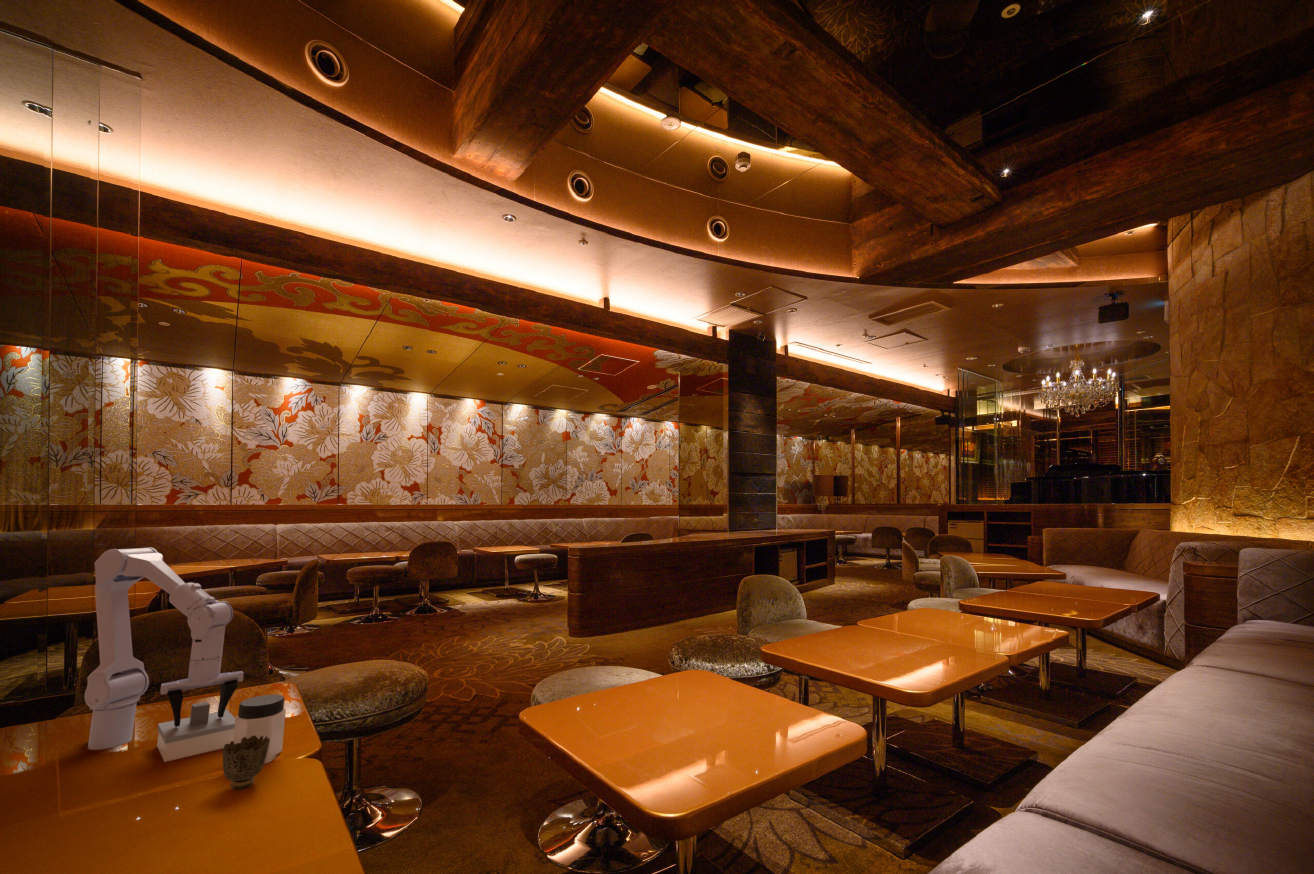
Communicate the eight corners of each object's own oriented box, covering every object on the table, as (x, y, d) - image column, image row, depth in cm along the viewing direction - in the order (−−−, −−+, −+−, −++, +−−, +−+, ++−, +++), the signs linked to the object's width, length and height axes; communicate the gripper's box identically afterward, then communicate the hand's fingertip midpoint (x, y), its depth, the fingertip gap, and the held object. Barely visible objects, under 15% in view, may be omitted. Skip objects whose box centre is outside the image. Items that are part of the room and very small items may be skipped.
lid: (157, 728, 125) (160, 704, 126) (226, 714, 134) (229, 692, 135) (165, 743, 117) (168, 718, 117) (238, 727, 126) (241, 703, 127)
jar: (228, 771, 114) (235, 709, 116) (231, 757, 121) (238, 698, 123) (281, 761, 119) (287, 701, 121) (281, 748, 126) (286, 691, 127)
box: (156, 749, 125) (159, 728, 125) (223, 734, 133) (225, 714, 134) (164, 765, 116) (166, 742, 117) (234, 748, 125) (236, 727, 126)
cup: (228, 799, 102) (233, 753, 104) (210, 789, 106) (215, 744, 108) (273, 783, 109) (277, 739, 110) (255, 774, 113) (259, 732, 114)
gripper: (167, 666, 120) (158, 734, 118) (248, 654, 130) (242, 716, 128) (162, 661, 125) (154, 725, 123) (241, 650, 135) (235, 709, 133)
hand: (199, 720), depth 126 cm, fingers open, 7 cm apart
